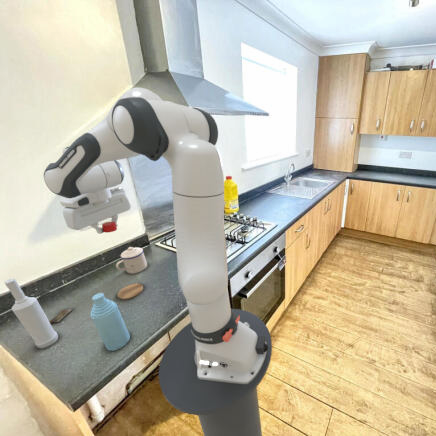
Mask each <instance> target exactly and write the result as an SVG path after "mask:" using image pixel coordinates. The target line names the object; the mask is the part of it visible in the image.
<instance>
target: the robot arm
mask: <svg viewBox="0 0 436 436" xmlns="http://www.w3.org/2000/svg"><path fill="white" fill-rule="evenodd" d="M218 139H219V128H218V124H217V122H216V120H215V118H214V117H213V115H211V114H210V113H208V112H207V111H205V110H203V109H200V108H198V107H190V106H187V105H184V104H180V103H175V102H174V101H168V100H163V99H162V98H161V97H160V96H159V95H158V94H156V93H155V92H153V91H152V90H149V89H147V88H144V87H132V88H129V89H127V91H125V92H124V93H123V94H122V95H121V96H120V97H119V98H118V99H117V100H116V101H115V102H114V103H113V105H111V107H110V109H109V110H108V112H107V114H106V116H105V117H103V119H101V121H100V122H98V123H97V124H96V125H95V126H94V127H92V128H91V129H89V130H88V131H87V132H85V133H83V134H82V135H80V136H79V137H77V138H76V139H75V140H74V141H73V142H72V143H71V144H70V145H69V146H66V147H65V148H63V149H62V155H61V156H60V157H59V158H58V159H57V161H55V162H50V163H49V164H48V165H47V166H46V168H45V169H44V172H43V180H44V183H45V185H46V187H47V188H48V189H49V191H51V192H52V193H53V194H55V195H57V196H60V197H63V198H61V199H60V205H61V206H62V207H64V208H63V210H62V215H63V218H64V222H65V224H66V227H67V228H68V229H70V230H74V231H80V230H82V229H84V228H88V227H92V229H94V230H95V231H96V233H97V234H99V235H101V234H103V233H105V232H104V229H103V228H102V226H101V227H100V226H99V223H100V222H102V221H105V220H107V219H110V218H111V221H110V222H115V224H116V227H117V228H118V223H117V222H118V219H119V215H120V214H122V213H125V212H127V211H130V210H131V208H132V206H131V203H130V201H129V198H128V196H127V193H126V191H125V189H124V188H122V187H119V185H121V184H122V183H123V181H124V178H125V171H124V168H123V166H122V164H121V163H120V162H119V160H120V161H121V160H124V159H130V158H134V157H137V156H140V155H142V156H144V157H145V158H147V159H149V160H150V161H152V162H157V161H158V160H160V159H161V157H162V158H163V159H165V161H166V162H167V163H168V165H169V166H170V171H171V192H172V193H171V194H172V206H173V207H172V209H173V219H174V220H173V222H174V235H175V252H176V266H177V267H176V268H177V281H178V285H179V288H180V291H181V292H182V295H183V297H184V298H185V301H186V306H187V310H188V314H189V318H190V322H191V332H192V334H193V337H194V338H195V356H194V359H195V363H196V365H197V376H198V379H200V380H209V381H219V382H228V383H237V384H248V383H250V382H251V381H252V380H253V379H254V378H255V377H256V375H257V374H258V372H259V371H260V369H261V367H262V365H263V362H264V360H265V357H266V353H267V350H268V345H267V344H266V341H265V336H263V335H258V336H257V334H256V333H255V332H254V331H253V330H252V329H250V328H249V327H250V325H249V324H248V323H247V322H245V323H244V324H243V323H242V322H240V321H239V319H240V315H239V316H238V318H236V316H235V314H234V313H233V311H232V309H233V308H231V303H230V302H231V301H230V295H229V291H228V286H229V274H228V273H229V272H228V257H227V256H228V255H227V242H226V232H225V178H224V177H225V175H224V169H223V161H222V156H221V153H220V151H219V149H218V148H217V146H216V145H217V142H218ZM113 187H115V188H113ZM252 373H254V374H253V375H251V374H252ZM205 374H207V375H205Z"/></svg>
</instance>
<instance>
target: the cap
mask: <svg viewBox="0 0 436 436" xmlns="http://www.w3.org/2000/svg"><path fill="white" fill-rule="evenodd" d="M101 228H103V229H104V232H103V233H114V232H116V231H117V230H118V226H117V227H116V224H115V222H111V221H106V222H103V223H102V224H101Z"/></svg>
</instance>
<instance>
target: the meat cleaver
mask: <svg viewBox="0 0 436 436" xmlns="http://www.w3.org/2000/svg"><path fill="white" fill-rule="evenodd" d="M71 311H73V309H72V308H68V309H62V310H60V312H59V313H58V314H57V315H55V317H53V318H52V319H51V320H48V321H49V322H50V324H51V325H52V324H53V323H60V321H61V320H62V319H63V318H64V317H66V316H67V315H68V314H69V313H70V312H71Z"/></svg>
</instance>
